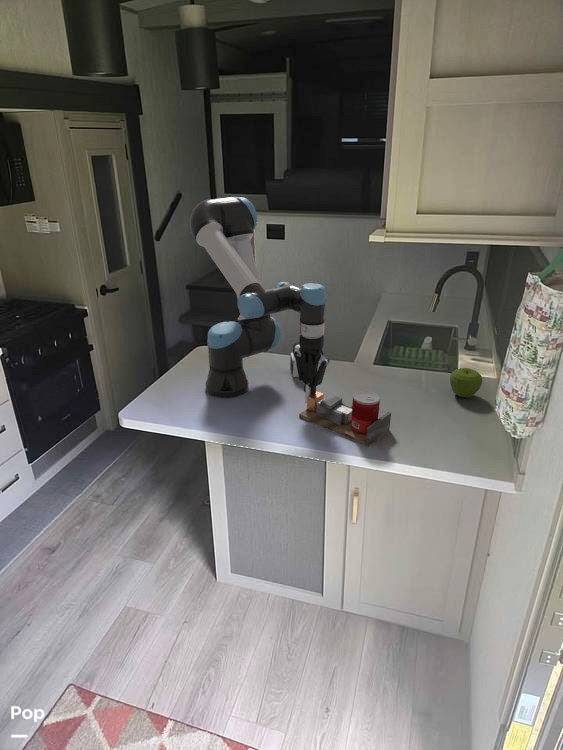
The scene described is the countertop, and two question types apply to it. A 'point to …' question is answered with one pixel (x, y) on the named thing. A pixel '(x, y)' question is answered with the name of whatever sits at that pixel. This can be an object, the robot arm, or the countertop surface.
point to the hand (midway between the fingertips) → (309, 401)
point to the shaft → (347, 412)
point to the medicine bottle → (294, 361)
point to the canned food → (364, 411)
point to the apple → (465, 382)
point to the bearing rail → (333, 422)
